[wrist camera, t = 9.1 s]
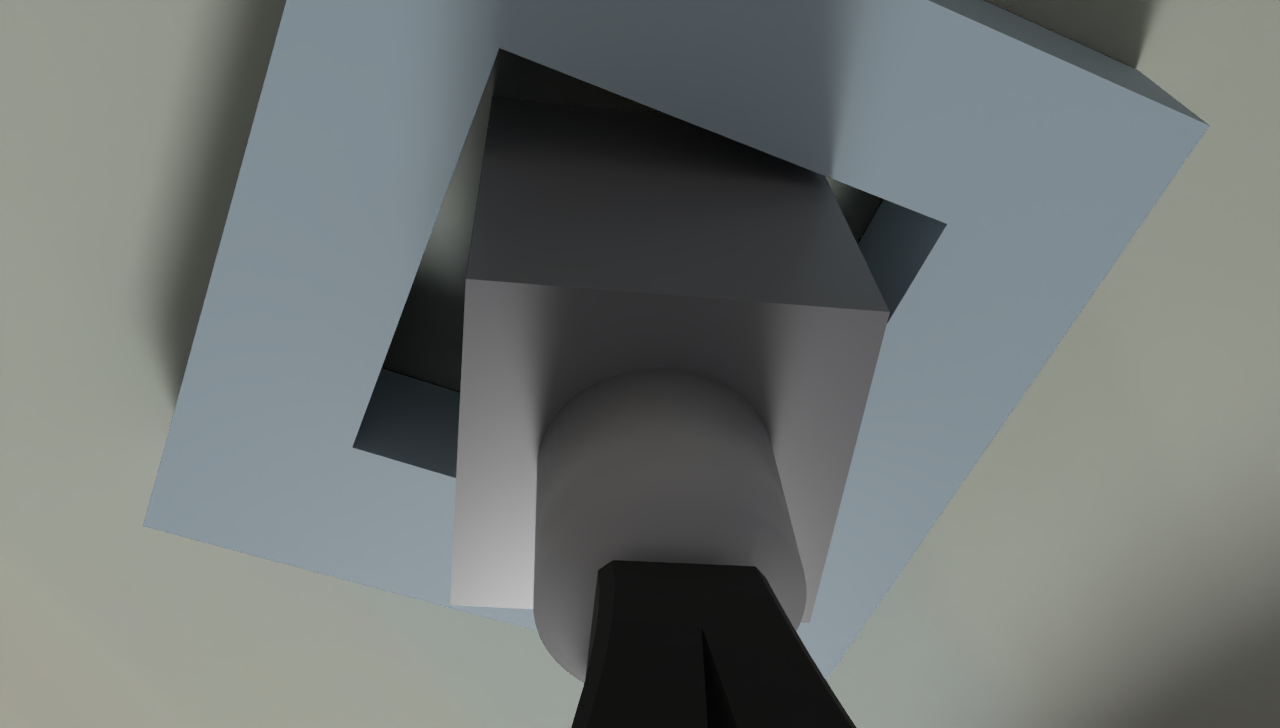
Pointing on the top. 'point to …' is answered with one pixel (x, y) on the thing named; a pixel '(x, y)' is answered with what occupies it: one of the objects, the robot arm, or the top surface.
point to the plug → (651, 363)
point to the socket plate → (712, 99)
